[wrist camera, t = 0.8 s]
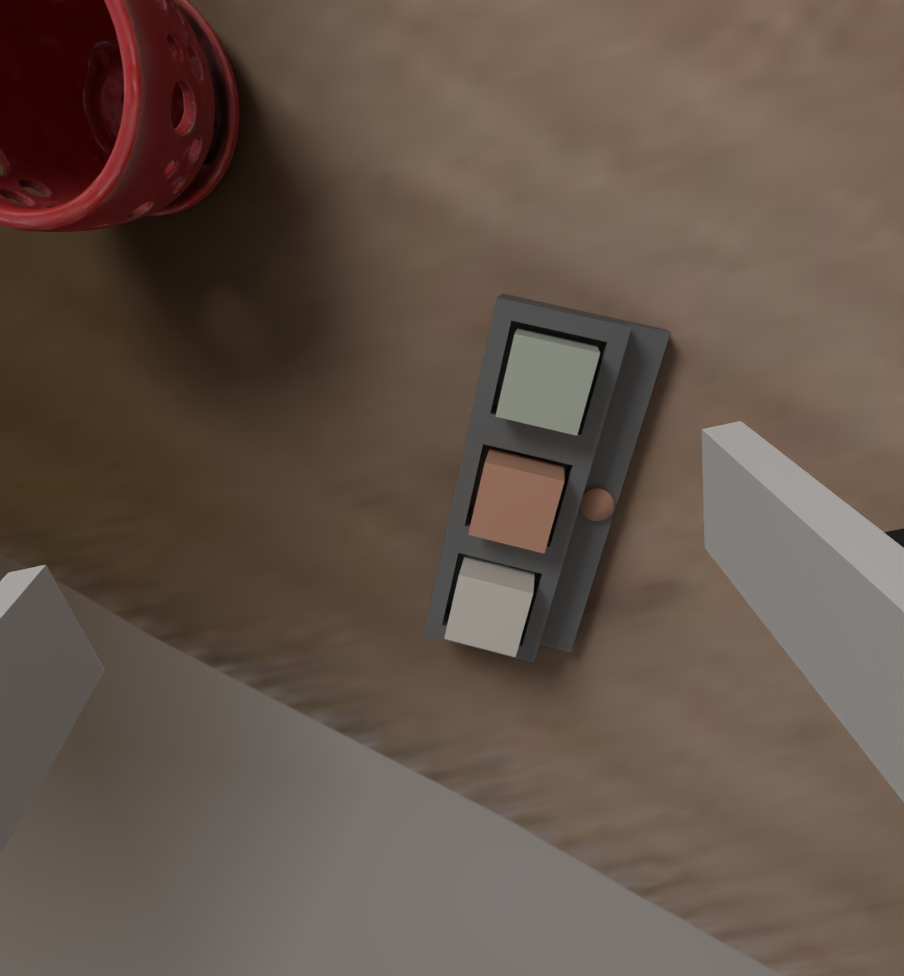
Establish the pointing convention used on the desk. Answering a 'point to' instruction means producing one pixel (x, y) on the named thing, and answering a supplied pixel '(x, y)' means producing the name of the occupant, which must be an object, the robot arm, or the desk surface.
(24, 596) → the robot arm
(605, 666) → the desk surface
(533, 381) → the sage key
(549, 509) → the terracotta key
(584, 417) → the key console
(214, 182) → the plant pot
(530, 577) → the ivory key
